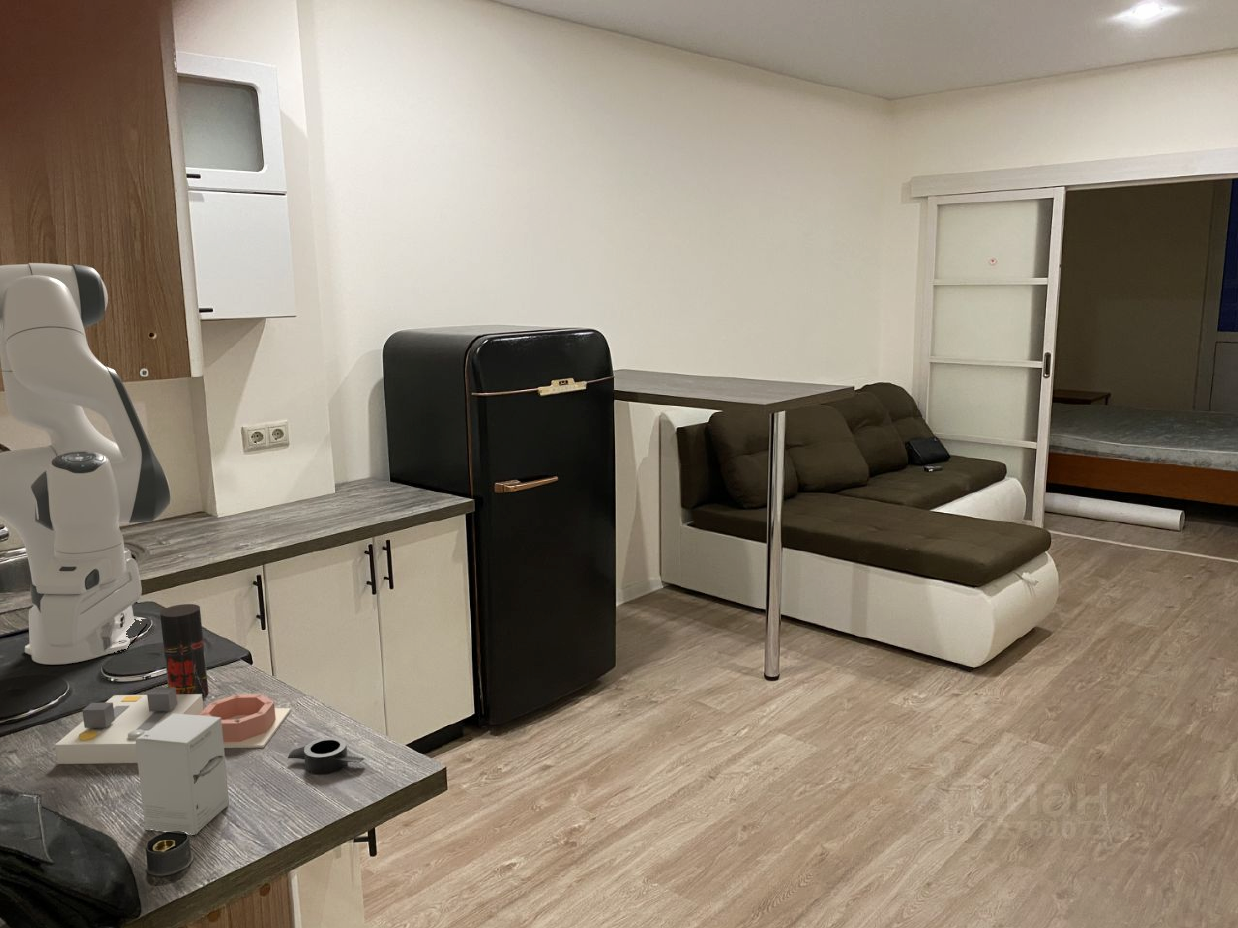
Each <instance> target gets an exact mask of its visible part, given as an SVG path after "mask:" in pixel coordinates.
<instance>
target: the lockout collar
mask: <svg viewBox="0 0 1238 928" xmlns="http://www.w3.org/2000/svg"><path fill="white" fill-rule="evenodd" d="M275 706H276V705H275V701H274V700H272V699H270V698H269V697H267V696H266V695H265V694H263V693H244V694H243V693H242V694H241V693H238V694H233V695H230V696H227V697H224V698H221V699H218V700H214V701H211V702H210V703H209V704H208V705H207V706H205V708H203V709H204V710H203V711H202V712H201V713H200V714H199V715H201V716H212V717H221V723H222V732H223V743H224V749H250V748H252V749H253V748H254V749H255V748H257V749H260V748H263V749H264V748H265V746H266V745H267V744H268V743H269V741H270V740H271V739H272V737H273V736H274V734H275V733H276V732H277V730H279V727H280V726H281V725H282V724H283V722H284V721H285V719H286V718H287V717H288V716H289V715H290V713H291V712H292V708H291V707H290V708H289V707H283V708H282V707H276V708H275Z"/></svg>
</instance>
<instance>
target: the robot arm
mask: <svg viewBox="0 0 1238 928" xmlns="http://www.w3.org/2000/svg"><path fill="white" fill-rule="evenodd" d="M108 297H109V296H108V290H107V287H106V285H105V282H104V281H103V280H102V277H101V274H99V273H98V272H97V270H95V268H93V267H90V266H87V265H82V264H81V265H80V264H76V263H75V264H74V263H71V265H65V264H59V263H58V264H57V263H43V262H28V263H27V264H26V263H24V264H23V263H22V264H19V263H18V264H5V265H4V264H3V265H0V368H1V375H2V381H3V390H4V395H5V403H6V408H7V409H6V410H7V412H8V413H9V415H10V416H11V417H12V418H13V419H14V420H15V421H17V422H18V423H21V424H23V425H26V426H28V427H31V428H35V429H38V430H41V431H45V432H46V433H47V434H48V435H49V438H50V442H51V445H47V446H39V447H31V448H21V449H14V450H6V451H2V452H0V519H1V520H2V521H4V522H6V523H7V524H8V525H9V526H10V527H12V529H13V530H14V531H15V532H16V533H17V535H18V536H19V538H20V539H21V540H22V542H23V546H24V548H25V552H26V556H27V559H28V560H27V561H28V566H29V571H30V577H31V582H30V584H29V596H30V599H31V604H33V606H31V607H30V609H29V610H28V632H29V633H28V635H29V636H28V637H29V640H28V641H29V643H28V644H27V645H25V646H24V653H25V654H27V655H30V656H31V660H32V661H33V662H35V663H37V664H41V665H67V664H72V663H73V664H75V663H79V662H84V661H88V660H93V659H96V658H100V657H103V656H106V655H108V654H114V652H115V653H118V652H117V651H118V650H121V649H126V650H128V649H129V648H128V646H129V644H130V639H129V638H128V637H126V636H128V635H126V633H127V632H126V631H127V630H128V629H129V628H130V626H132V624H133V623H134V622H135V620H134V619H136V620H139V621H142V620H141V619H146V618H145V617H142V616H141V617H140V616H134V611H133V605H134V604H136V603H137V602H138V601H140V599H141V597H142V593H143V592H142V591H143V590H142V589H143V588H142V581H141V577H140V572H139V571H140V570H139V567H138V564H137V562H136V559H134V558H133V557H132V552H131V550H130V549H128V547H127V546H125V545H124V544H125V543H124V535H123V534H122V532H121V530H120V524H125V523H129V524H136V523H149V522H150V523H151V522H154V520H157V518H158V517H160V516H161V514H163V512H165V510H167V508H169V507H168V506H169V505H170V504H171V487H170V482H169V479H168V477H167V475H166V473H165V471H164V470H163V467H162V465H161V463H160V461H159V459H158V458H157V456H156V454H155V452H154V450H153V447H152V446H151V443H150V441H149V439H148V437H147V435H146V431H145V429H144V427H143V425H142V422H141V420H140V418H139V416H138V413H137V410H136V409H135V406H134V404H133V402H132V399H131V397H130V395H129V393H128V390H127V389H126V387H125V385H124V383H123V381H122V379H121V377H120V375H119V374H118V373H117V372H116V370H115V369H114V368H111V367H108V366H106V365H104V364H103V363H102V362H101V361H100V360H99V359H98V358H97V357H96V356H95V355H94V354H93V352H92V351H91V349H90V347H89V345H88V340H87V335H86V331H85V329H86V328H89V327H92V326H94V325H97V324H98V323H99V322H100V321H101V320H102V319H104V318H105V315H106V310H107V307H108V303H109V301H108V300H109V298H108ZM83 408H86V409H89V410H91V411H93V412H95V413H97V414H99V415H100V416H101V417H103V418H104V420H105V421H106V422H107V424H108V427H109V429H110V432H111V433H112V436H113V438H114V441H112V440H110V439H109V438H108V437H106V436H104V435H103V434H102V433H100V431H98V429H96V428H95V427H94V426H93V424H92V423H91V422H90V420H89V418H88V416H87V414H86V413H85V410H84V409H83ZM140 624H141V623H140ZM119 641H127V642H124V643H121V644H119V643H118V642H119ZM129 647H130V646H129ZM127 648H128V649H127Z"/></svg>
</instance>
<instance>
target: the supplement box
mask: <svg viewBox="0 0 1238 928" xmlns="http://www.w3.org/2000/svg"><path fill="white" fill-rule="evenodd" d="M135 742H136V751H137V759H138V763H137V768H138V776H139V785H140V794H141V802H142V813H143V821H144V829H145V830H146V829H153V830H161V831H184V832H187V833H188V834H190V833H191V834H193V835H195V834H196V835H197V834H198V833H199V832H200V831H201V830H202V829H203V828H205V826H206V825H207V824H208V823H210V822H211V821H212V820H213V819H214V818H215V817H217V816H218V815H219V814H220V813H221V812H223V811H224V809H226V808H227V807H228V806H229V805H230V798H229V787H228V786H229V785H228V774H227V766H226V765H227V764H226V757H225V756H226V755H225V748H224V743H223V732H222V723H221V717H212V716H201V715H187V714H175V713H174V714H172V715H170V716H169V717H167V718H166V719H164V720H163V721H161V722H160V723H159V724H157V725H156V726H154V727H153V728H151V729H150V730H148V731H147V732H145V733H144V734H142V735H141V736H140V737H138V738H136V739H135ZM196 835H195V836H196Z"/></svg>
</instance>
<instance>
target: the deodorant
mask: <svg viewBox="0 0 1238 928" xmlns="http://www.w3.org/2000/svg"><path fill="white" fill-rule="evenodd" d="M159 615H160V624H161V625H160V626H161V633H162V641H163V642H162V644H163V651H164V660H165V668H166V669H165V671H166V678H167V679H166V680H167V685H168V687H176V695H177V694H202V699H205V698H206V697H207V696H208V695H209V683H208V674H207V665H206V663H207V661H206V654H205V645H204V635H203V634H204V633H203V625H202V615H201V606H199V605H198V604H193V603H183V604H175V605H172V606H169V607H166V608H164V609H162V610H161V611H160V612H159Z"/></svg>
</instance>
